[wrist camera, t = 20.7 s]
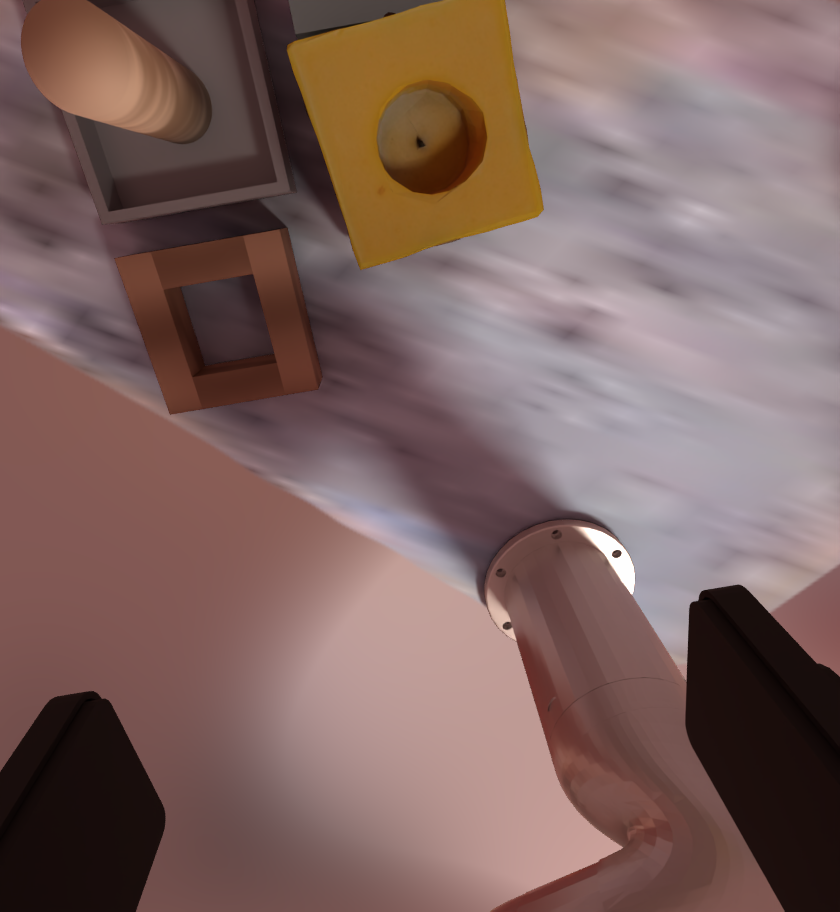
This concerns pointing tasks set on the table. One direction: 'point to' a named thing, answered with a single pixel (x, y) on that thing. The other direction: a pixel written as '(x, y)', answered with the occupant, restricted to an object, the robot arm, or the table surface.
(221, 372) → the socket block
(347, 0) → the block
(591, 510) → the table surface
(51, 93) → the dowel
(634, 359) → the table surface
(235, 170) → the tray
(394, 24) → the candle
